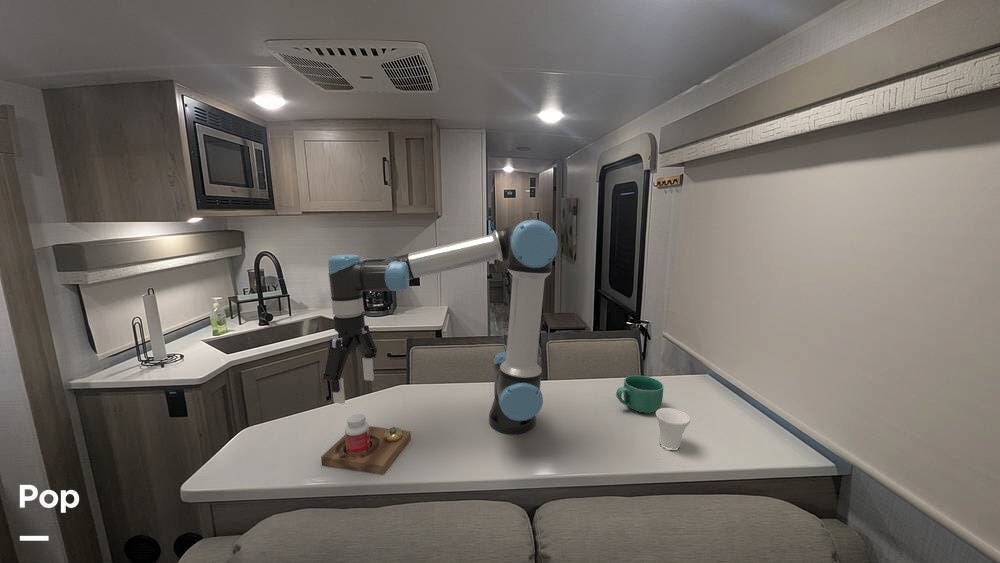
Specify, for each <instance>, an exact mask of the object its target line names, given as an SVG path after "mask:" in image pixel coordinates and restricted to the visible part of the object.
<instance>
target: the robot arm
mask: <svg viewBox="0 0 1000 563" xmlns="http://www.w3.org/2000/svg"><path fill="white" fill-rule="evenodd" d="M558 246H559V242H558V237H557V234H556V232H555V231H554V229H553V228H552V227H551V226H550V225H549V224H547V223H546V222H544V221H542V220H540V219H535V218H534V219H527V220H526V219H525V220H524V219H523V220H520V221H517V222H515V223H513V224H511V225H507V226H505V227H501V228H498V229H494V230H493V231H492V233H491V234H486V235H482V236H478V237H474V238H470V239H466V240H461V241H457V242H453V243H449V244H444V245H439V246H436V247H435V246H434V247H431V248H427V249H423V250H418V251H414V252H409V253H405V254H401V255H393V256H390V257H388V258H386V259H385V260H382V261H375V262H374V261H372V262H363V261H361V259H360V255H357V254H337V255H332V256H330V257H329V259H328V273H327V274H328V279H329V286H330V296H331V298H330V300H331V306H332V307H331V308H332V315H333V317H332V318H333V319H332V321H333V329H334V331H335V332H337V335H338V336H337V338H331V339H330V340H329V350H328V355H327V358H326V360H327V361H326V364H325V369H324V374H323V381H330V386H331V392H332V397H333V404H341V405H342V404H345V403H346V395H345V386H344V378H343V377H342V374H343V371H344V367H345V365H346V362H347V359H348V357H349V355H351V353H352V351H353V350H355V348H356V349H357V350H358V351H359V352H360V353H361V354H362V355H363V357H362V359H361V360H362V371H363V380H364V381H371V382H373V381H374V380H375V375H374V374H375V373H374V359H373V358H376V357H377V353H378V349H377V347H376V344H375V341H374V339H373V337H372V335H371V333H370V327H369V325H366V321H365V313H364V312H365V308H364V307H365V306H364V298H363V297H364V296H363V292H386V291H387V292H391V291H392V292H397V291H405V290H406V289H408V287H409V283H410V280H413V279H416V278H422V277H426V276H431V275H435V274H439V273H444V272H447V271H451V270H456V269H461V268H465V267H469V266H473V265H474V266H475V265H478V264H481V263H486V262H487V263H488V262H491V261H494V260H495V261H496V260H498V261H500V262H505V261H507V271H508V272H509V274H510V275H511V276H512V279H511V281H512V282H511V291H510V306H509V319H508V320H509V322H508V331H507V332H508V333H507V341H506V342H507V344H506V351H502V352H498V353H497V354H496V355H495V356H494V362H493V366H494V367H493V368H494V370H493V371H494V373H493V374H494V376H493V378H494V379H493V380H494V384H493V385H494V386H493V387H494V392H493V393H494V395H493V396H494V398H493V401H492V405H491V408H490V411H489V414H488V421H489V422H488V423H489V425H490V427H491V428H493V430H495V431H497V432H500V433H503V434H507V435H518V434H523V433H527V432H529V431H531V430H532V429H533V428H534V427H535V426H536V423H537V421H536V419H537V418H536V416H537V415H538V414H539V413H540V411H541V409H542V407H543V402H544V400H543V399H544V397H543V392H542V391H541V383H542V382H541V381H542V373H543V372H542V371H543V370H542V368H541V366H540V365H539V364H538V355H539V354H538V352H539V343H540V333H541V332H540V331H541V323H542V322H541V321H542V313H543V312H542V309H543V300H544V290H545V289H544V288H545V280H546V278H547V277H548V276H550V275H551V274H552V273H551V272H552V267H553V266H552V265H553V260H554V258H555V257H556V255H557V252H558Z"/></svg>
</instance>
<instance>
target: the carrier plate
mask: <svg viewBox="0 0 1000 563" xmlns="http://www.w3.org/2000/svg"><path fill="white" fill-rule="evenodd" d="M388 429H389V428H386V427H379V426H371V425H369V435H370V449H369V450H368V451H366V452H364V453H362V454H358V455H347V449H346V436H345V434H344V435H343V436H342V437H341V438H340V439H339V440H337V441H336V442H335V443H334V444H333V445H332V446H331V447H329V449H328V450H326V452H324V453H323V454H322V455H321V457H320V458H321V466H325V467H330V468H331V467H332V468H337V469H344V470H351V471H356V472H364V473H370V474H375V475H385V473H386V472H387V471H388V470H389V468H390V466H392V464H393V463H394V462H395V461H396V459H397V458H398V456H399V455H400V454H401V452H402V451H403V450H404V448H406V446H407V445H408V443H409V442H410V441H411V440H412V436H411V434H412V433H411V432H412V431H410V430H402V429H401V430H402V438H401V439H400V440H399V441H397V442H393V443H388V442H386V441H385V440H384V432H385V431H387V430H388Z"/></svg>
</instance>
